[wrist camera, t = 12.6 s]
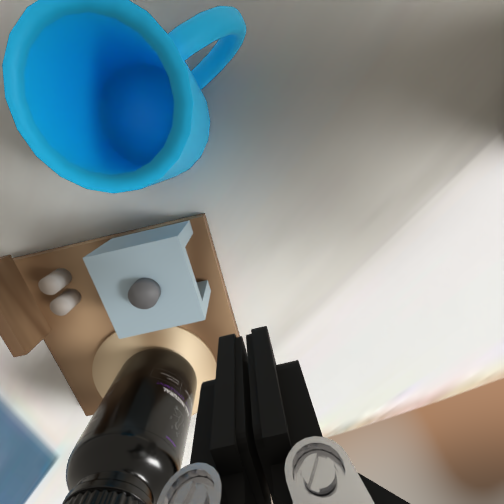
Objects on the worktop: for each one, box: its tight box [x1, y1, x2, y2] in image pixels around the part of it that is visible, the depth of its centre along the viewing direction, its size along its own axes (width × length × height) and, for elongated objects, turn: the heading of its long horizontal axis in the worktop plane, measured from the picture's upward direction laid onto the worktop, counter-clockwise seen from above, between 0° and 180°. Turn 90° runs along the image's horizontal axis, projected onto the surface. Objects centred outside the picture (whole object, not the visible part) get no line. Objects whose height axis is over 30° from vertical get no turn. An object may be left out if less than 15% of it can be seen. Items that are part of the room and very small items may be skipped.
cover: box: [83, 220, 211, 339], centre depth 20 cm, size 6×6×5 cm
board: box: [0, 213, 240, 416], centre depth 24 cm, size 16×19×4 cm
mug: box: [2, 0, 246, 193], centre depth 16 cm, size 12×8×8 cm
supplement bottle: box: [62, 348, 197, 504], centre depth 20 cm, size 7×7×12 cm
